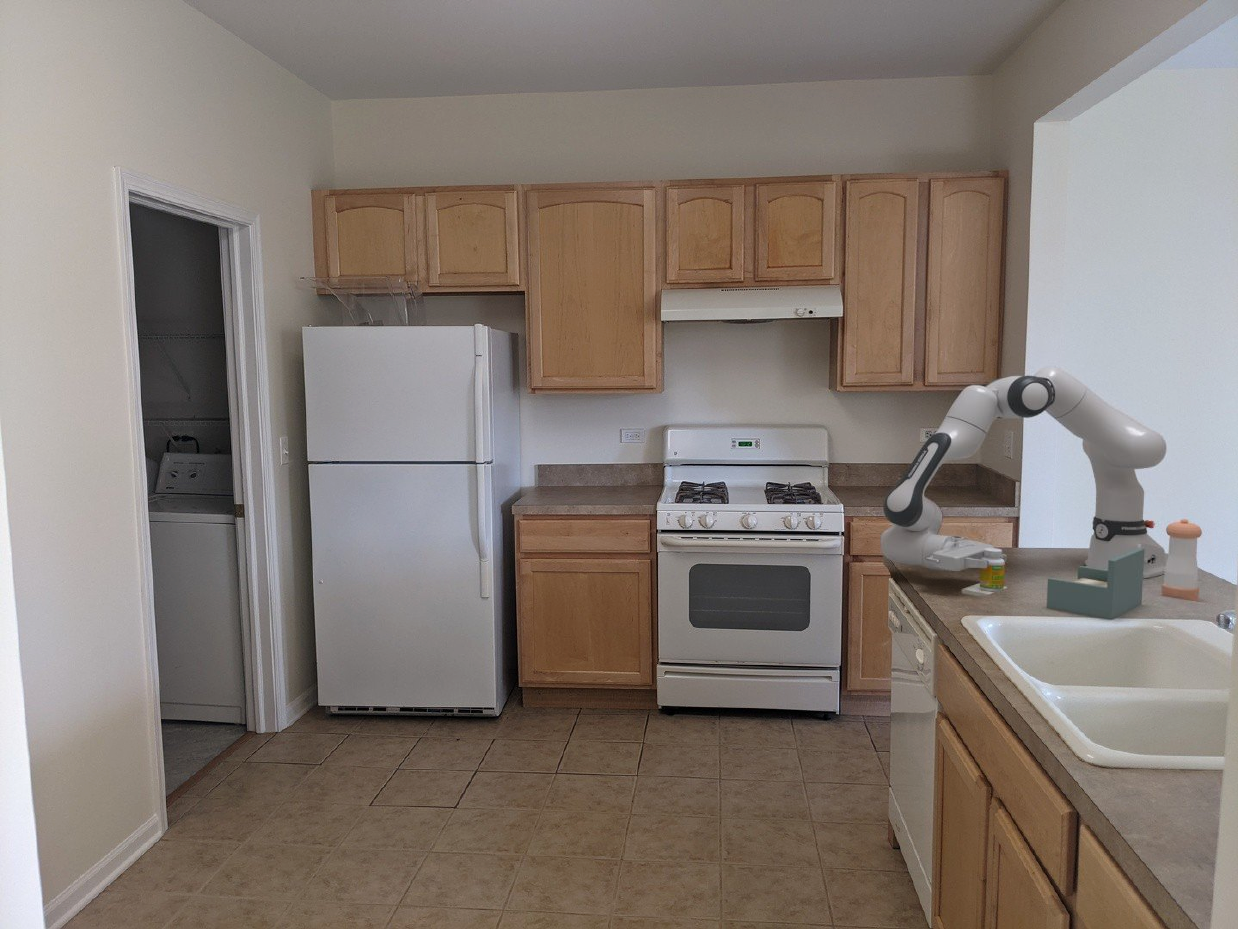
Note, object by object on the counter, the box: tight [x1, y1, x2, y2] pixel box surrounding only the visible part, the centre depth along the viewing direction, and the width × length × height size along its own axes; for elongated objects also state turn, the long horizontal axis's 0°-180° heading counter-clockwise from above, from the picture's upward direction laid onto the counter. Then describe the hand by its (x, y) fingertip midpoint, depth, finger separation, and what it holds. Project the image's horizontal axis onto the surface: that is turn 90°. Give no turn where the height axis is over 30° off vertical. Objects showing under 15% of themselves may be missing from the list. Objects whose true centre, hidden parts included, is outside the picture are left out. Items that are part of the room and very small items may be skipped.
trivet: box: [961, 582, 1008, 598], centre depth 213 cm, size 10×10×1 cm
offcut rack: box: [1046, 548, 1145, 621], centre depth 196 cm, size 13×18×14 cm
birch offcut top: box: [1073, 578, 1107, 587], centre depth 196 cm, size 9×11×2 cm
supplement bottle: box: [979, 547, 1006, 593], centre depth 213 cm, size 5×5×10 cm
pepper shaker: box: [1161, 518, 1203, 603], centre depth 205 cm, size 7×7×19 cm
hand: (996, 561), depth 212 cm, fingers open, 8 cm apart
